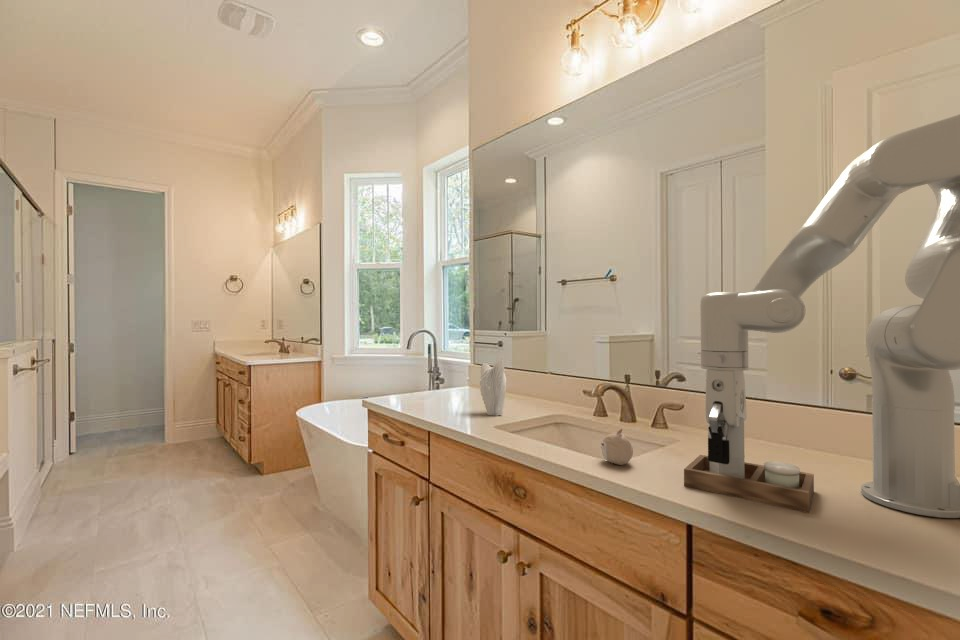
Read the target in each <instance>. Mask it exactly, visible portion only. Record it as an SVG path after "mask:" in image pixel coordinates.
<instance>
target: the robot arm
mask: <svg viewBox="0 0 960 640" xmlns="http://www.w3.org/2000/svg"><path fill="white" fill-rule="evenodd" d="M925 185H928V186H929V188H930V189H931V190H932V192H933V194H934V196H935V200H936V209H935V211H934V212H935V213H934V215H933V217H932V220H931V222H930V223H929V226H928V228H927V230H926V232H925V234H924V236H923V238H922V239H921V241H920V243H919V245H918V247H917V248H916V251H915V253H914V254H913V256H912V258H911V260H910V261H909V263H908V265H907V268H906V271H905V274H904V281H905V282H904V283H905V285H906V287H907V289H908V290H909V291H910V293H912V294H913V295H915V296H916V297H918V298H920V299H923V300H922V302H921V304H907V305H898V306H894V307H891V308H888V309H885V310H883V311H882V312H880V313H879V314H877V315H876V316H875V317H874V318H873V319H872V320H871V322H870V323H869V325H868V327H867V330H866V336H865V345H866V350H867V356H868V360H869V364H870V365H869V366H870V373H871V390H872V391H871V394H872V398H871V399H872V400H871V401H872V402H871V408H872V414H871V415H872V417H871V419H872V425H871V426H872V481H869V482H864V483H862V484H861V486H860V492H861V495H863V496H864V497H865V498H866V499H868V500H870V501H872V502H874V503H875V504H879V505H881V506H884V507H886V508H890V509H893V510H896V511H902V512H905V513H910V514H914V515H918V516H919V515H920V516H925V517H933V518H940V519H941V518H943V519H960V482H959V480H958V479H957V477H956V469H955V468H956V465H955V464H956V463H955V462H956V461H955V455H956V453H955V406H956V405H955V401H956V400H955V391H954V390H955V389H954V386H953V381H952V377H951V373H950V371H957V370H960V113H959V114H956V115H954V116H951V117H947V118H944V119H941V120H937V121H934V122H931V123H928V124H925V125H922V126H918V127H916V128H912V129H909V130H906V131H903V132H900V133H899V132H898V133H896V134H893V135H891V136H888V137H885V138H883V139H882V140H880V141H878V142H877V143H875V144H874V145H872V146H870V147H869V148H868V149H867V150H865V151H864V152H863V153H861V154H859V155H858V156H857V157H855V158H854V159H853V160H852V161H851V162H850V163H849V164H848V165H847V166H846V168H844V170H842V172H841V173H840V175H839V176H838V178H837V179H836V180H835V182H834V183H833V184H832V186H831V187H830V188H829V189H828V191H827V193H826V194H825V195H824V197H822V199H821V201H820V202H819V203H818V205H817V206H816V208H815V209H813V212H812V213H811V214H810V215H809V216H808V218H807V219H806V220H805V222H804V223H803V224H802V226H801V227H800V228H799V230H798V231H797V232H796V234H795V235H793V237H792V238H791V240H789V242H788V243H787V245H786V246H785V247H784V249H782V251H781V252H780V253H779V254H778V256H777V257H776V258H775V259H774V261H772V263H771V264H770V265H769V267H767V269H766V270H765V271H764V273H763V274H762V276H761V277H759V280H758V281H757V282H756V283H755V285H754V286H753V288H752V289H751V290H750V291H749V292H741V291H740V292H739V291H719V292H718V291H716V292H715V291H714V292H708V293H706V294H704V295H703V296H701V299H700V306H699V307H700V368H701V369H704V370H706V375H705V377H706V379H705V381H706V382H705V419H706V423H707V424H708V425H710V426H707V427H708V433H707V456H708V460H709V461H710V462H716V463H722V464H729V440H727V436H728V430H729V425H731V426H733V428H737V427H739V426H740V425H741V417H743V418H744V422H746V420H747V400H746V398H747V397H746V384H745V383H746V382H745V373H744V371H748V370H749V331H752V332H754V331H756V332H763V333H770V334H783V333H787V332H789V331H792V330H794V329H795V328H797V327H798V326H800V325H801V323H802V322H803V321H804V319H805V316H806V305H805V303H804V301H803V299H802V298H801V297H802V296H803V295H804V293H805V292H806V291H807V290H808V289H809V288H810V287H811V286H812V285H813V284H814V283H815V282H816V281H817V280H818V279H820V277H822V276H823V275H824V274H826V273H827V272H829V271H830V270H831V269H833V268H835V267H837V266H838V265H839V264H841V263H843V261H845V260H846V259H847V258H848V257H849V256H851V255H852V254H853V252H855V251H856V250H857V248H858V247H859V246H860V244H861V243H862V241H864V239H865V238H866V236H867V235H868V234H869V233H870V231H871V230H872V229H873V227H874V226H875V224H876V223H877V222H878V220H879V219H880V218H881V217H882V216H883V214H884V213H885V212H886V211H887V210H888V208H889V207H890V206H891V204H892V203H893V202H894V200H895V199H896V198H897V197H898V196H899V195H900V194H903V193H904V192H907V191H909V190H910V189H913V188H917V187H921V186H925ZM719 420H721V421H723V422H719ZM722 428H724V429H723V431H722Z"/></svg>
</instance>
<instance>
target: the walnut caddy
mask: <svg viewBox="0 0 960 640" xmlns="http://www.w3.org/2000/svg"><path fill="white" fill-rule="evenodd" d="M744 470H745V479H742V478H737V477H732V476H727V475H721V474H716V473H711V472H710V461H709V460H708V455H704V454H699V455H698V456H697V457H696V458H695V459H694V460H692V461H691V462H690V463H689V464H688V465H687V466H685V468H684V469H683V486H684V487H688V488H692V489H697V490H702V491H706V492H711V493H716V494H721V495H725V496H729V497H734V498H739V499H742V500H748V501H752V502H756V503H757V502H758V503H762V504H766V505H771V506H774V507H775V506H776V507H780V508H784V509H790V510H794V511H799V512H803V513H809V512H810V509H811V505H812V501H813V496H814V494H815V481H814V480H815V479H814V477H815V474H814V473H811V472H803V471H800V474H799V489H795V488H790V487H784V486H779V485H774V484H769V483H765V469H764V464H763V465H761V464H758V463H752V462H751V463H750V462H745V461H744Z"/></svg>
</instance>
